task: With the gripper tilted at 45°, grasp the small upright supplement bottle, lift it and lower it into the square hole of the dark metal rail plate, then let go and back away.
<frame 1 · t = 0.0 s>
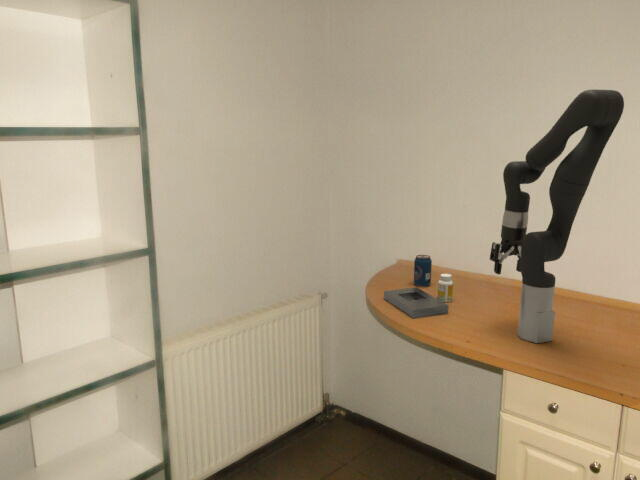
hand: (508, 272, 170), 17 cm above the worktop, tool pointing down, fingers open, 8 cm apart
supplement bottle: (444, 300, 197), on the worktop
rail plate: (414, 305, 190), on the worktop
soda can: (422, 285, 216), on the worktop
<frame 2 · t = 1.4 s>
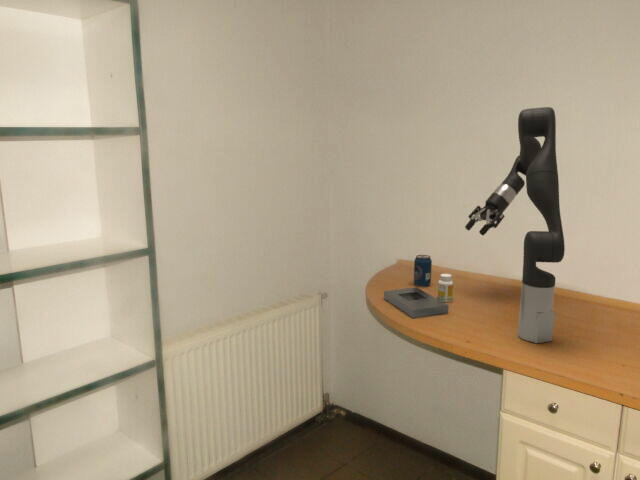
hand: (473, 231, 195), 25 cm above the worktop, tool tilted 45°, fingers open, 8 cm apart
nothing on the worktop moved.
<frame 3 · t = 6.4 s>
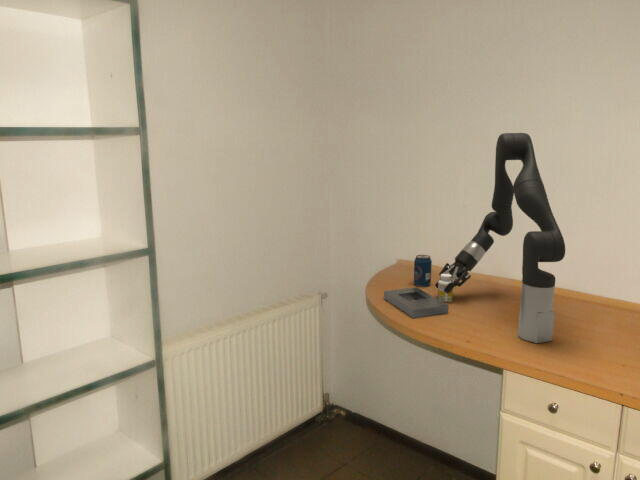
hand: (441, 289, 195), 4 cm above the worktop, tool tilted 45°, fingers closed on supplement bottle, 5 cm apart
supplement bottle: (444, 300, 196), on the worktop, touching gripper
everything else where it was.
when the fingers open (5 cm above the worktop, at t = 12.4 s): supplement bottle drops 1 cm, resting in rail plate.
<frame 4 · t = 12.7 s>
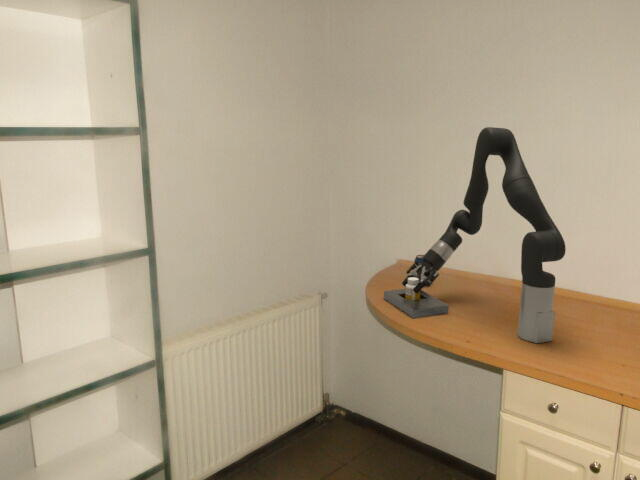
hand: (409, 288, 190), 6 cm above the worktop, tool tilted 45°, fingers open, 8 cm apart
supplement bottle: (412, 304, 192), resting in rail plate
everything else where it was.
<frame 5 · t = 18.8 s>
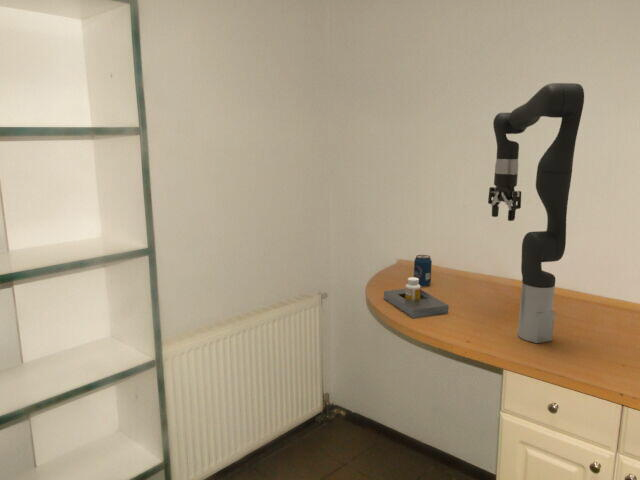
hand: (502, 218, 183), 32 cm above the worktop, tool pointing down, fingers open, 8 cm apart
nothing on the worktop moved.
at the end: supplement bottle 0.2 cm from the target spot on the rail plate, point 0.0 cm above the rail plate's base; supplement bottle tilted 0°; the gripper is holding nothing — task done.
